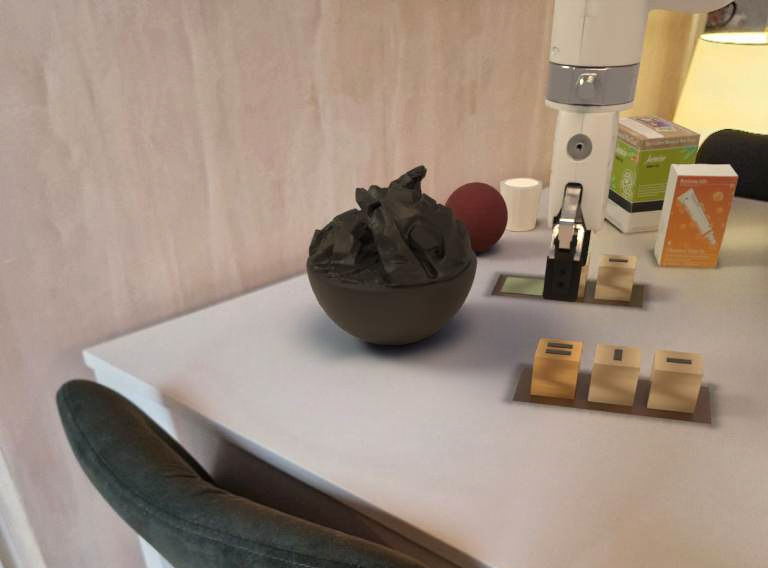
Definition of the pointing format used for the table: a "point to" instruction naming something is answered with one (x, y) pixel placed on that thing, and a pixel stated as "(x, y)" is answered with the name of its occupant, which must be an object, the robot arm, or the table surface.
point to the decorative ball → (480, 213)
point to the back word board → (585, 284)
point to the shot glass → (521, 202)
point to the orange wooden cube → (556, 368)
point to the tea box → (645, 169)
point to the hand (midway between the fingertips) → (565, 281)
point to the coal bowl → (392, 264)
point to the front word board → (612, 408)
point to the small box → (695, 214)
